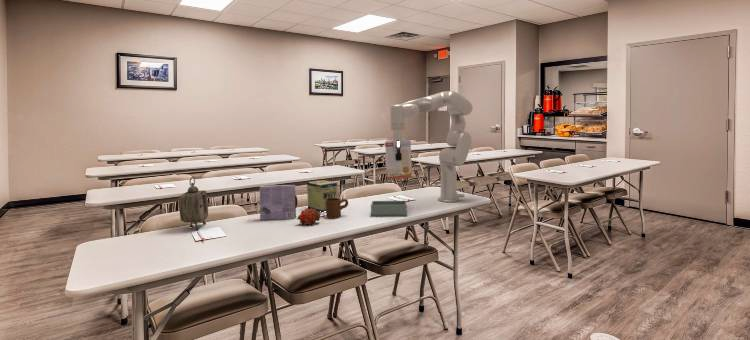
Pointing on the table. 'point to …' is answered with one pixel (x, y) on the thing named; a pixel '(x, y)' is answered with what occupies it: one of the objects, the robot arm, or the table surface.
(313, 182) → the protein box
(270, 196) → the cake pan box
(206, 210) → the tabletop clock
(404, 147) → the cracker box
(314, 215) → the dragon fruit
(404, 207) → the tray
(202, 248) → the table surface
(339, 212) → the mug
